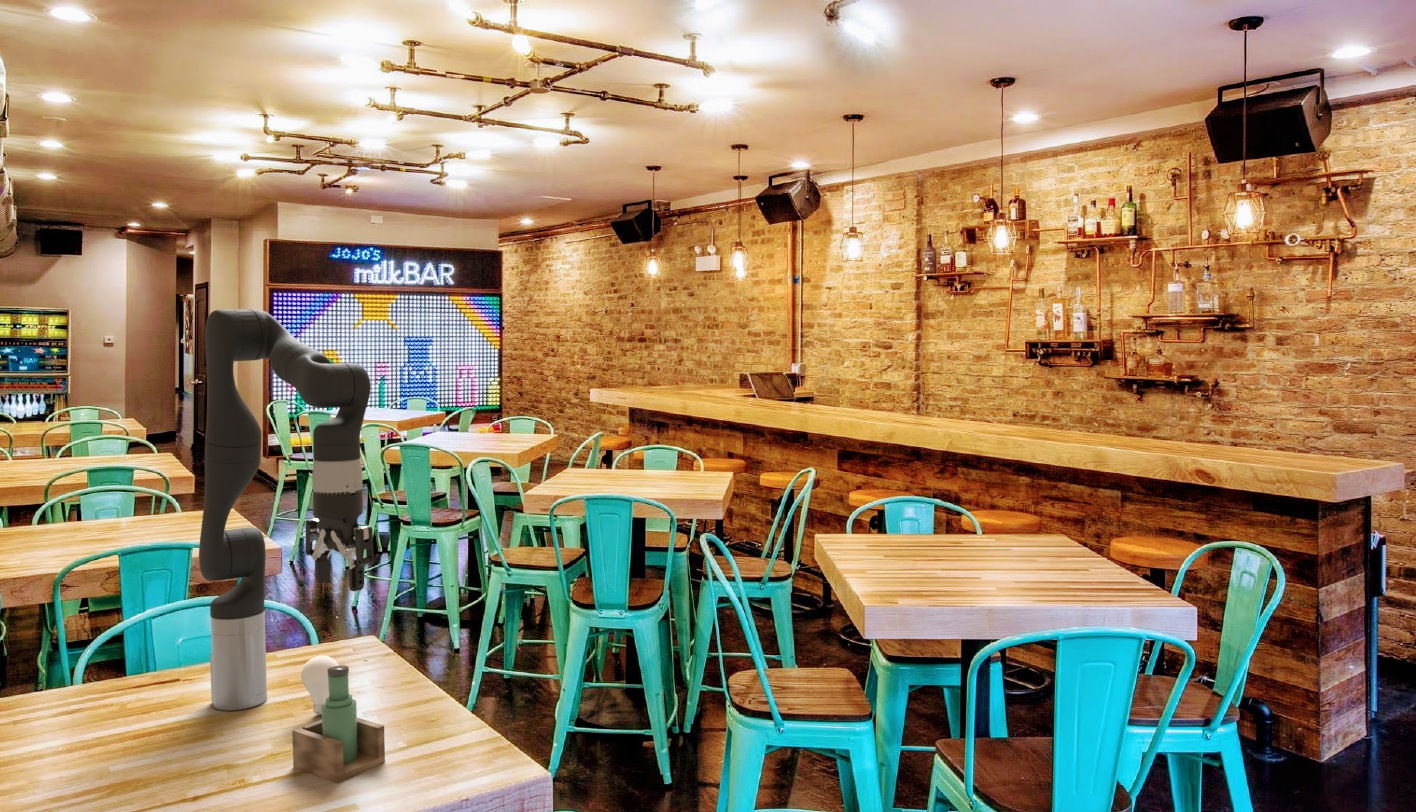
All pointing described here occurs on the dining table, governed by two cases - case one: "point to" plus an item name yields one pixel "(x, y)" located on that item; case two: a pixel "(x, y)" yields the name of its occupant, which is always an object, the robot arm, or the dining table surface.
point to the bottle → (340, 713)
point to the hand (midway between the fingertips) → (339, 586)
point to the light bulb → (317, 680)
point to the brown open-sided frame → (337, 751)
